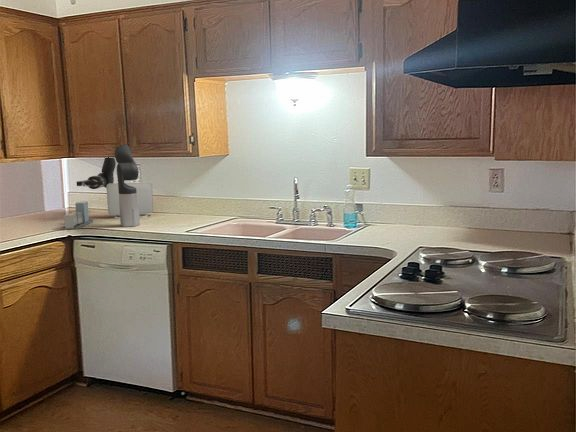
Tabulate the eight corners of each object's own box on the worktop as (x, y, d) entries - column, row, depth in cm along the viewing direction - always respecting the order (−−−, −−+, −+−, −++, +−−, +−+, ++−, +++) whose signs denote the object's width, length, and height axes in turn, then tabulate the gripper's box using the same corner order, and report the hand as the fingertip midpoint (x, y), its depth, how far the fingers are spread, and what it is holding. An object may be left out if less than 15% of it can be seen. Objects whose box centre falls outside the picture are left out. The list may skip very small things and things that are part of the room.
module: (80, 221, 324) (79, 201, 322) (89, 221, 324) (87, 201, 322) (76, 223, 318) (75, 202, 316) (85, 223, 318) (83, 202, 316)
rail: (79, 222, 325) (78, 209, 324) (92, 222, 325) (92, 208, 324) (62, 229, 302) (61, 215, 301) (77, 229, 302) (76, 214, 301)
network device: (108, 219, 335) (106, 184, 332) (108, 217, 344) (106, 183, 341) (154, 216, 343) (152, 182, 340) (152, 214, 351) (150, 181, 348)
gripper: (83, 176, 343) (72, 177, 326) (107, 175, 342) (98, 177, 326) (84, 188, 343) (73, 191, 327) (108, 188, 343) (99, 190, 327)
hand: (85, 184), depth 327 cm, fingers open, 8 cm apart
